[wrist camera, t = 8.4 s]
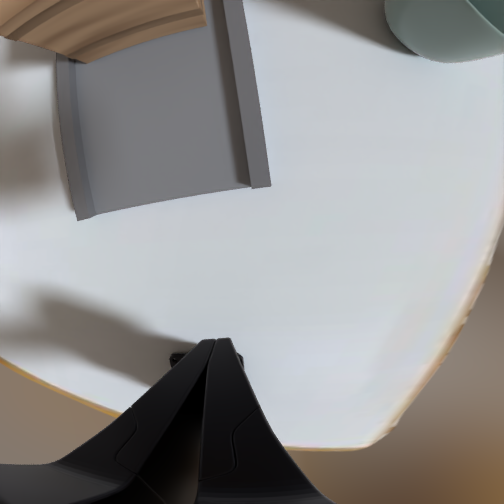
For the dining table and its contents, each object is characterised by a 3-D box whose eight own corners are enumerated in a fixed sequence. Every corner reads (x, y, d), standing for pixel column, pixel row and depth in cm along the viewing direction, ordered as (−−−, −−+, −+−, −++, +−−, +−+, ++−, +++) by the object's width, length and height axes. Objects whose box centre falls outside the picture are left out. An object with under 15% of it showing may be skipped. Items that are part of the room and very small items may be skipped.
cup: (359, 38, 16) (425, -23, 6) (381, -27, 13) (435, -88, 4) (445, 89, 16) (536, 75, 7) (459, 22, 14) (533, -8, 4)
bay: (270, 182, 20) (279, 211, 11) (89, 215, 20) (13, 255, 12) (225, -78, 12) (213, -143, 3) (73, -29, 12) (20, -64, 4)
